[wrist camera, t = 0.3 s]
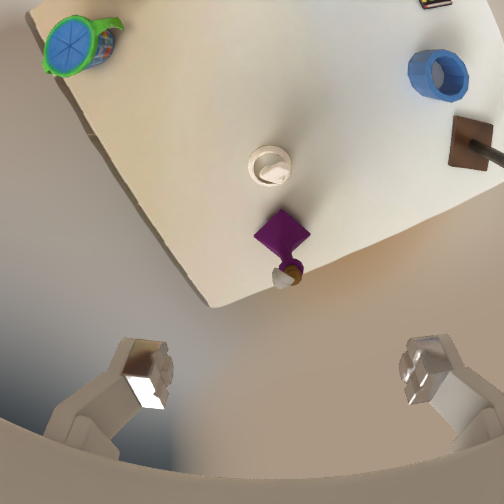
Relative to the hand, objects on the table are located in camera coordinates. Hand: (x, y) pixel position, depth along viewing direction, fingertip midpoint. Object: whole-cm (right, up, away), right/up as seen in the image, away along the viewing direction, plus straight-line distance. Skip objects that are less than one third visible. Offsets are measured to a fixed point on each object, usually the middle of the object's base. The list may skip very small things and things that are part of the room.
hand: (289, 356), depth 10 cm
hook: (+2, +18, +44) cm, 48 cm away
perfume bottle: (+4, +8, +50) cm, 51 cm away
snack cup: (-29, +40, +33) cm, 60 cm away
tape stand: (+42, +25, +38) cm, 61 cm away
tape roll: (+30, +35, +32) cm, 56 cm away
